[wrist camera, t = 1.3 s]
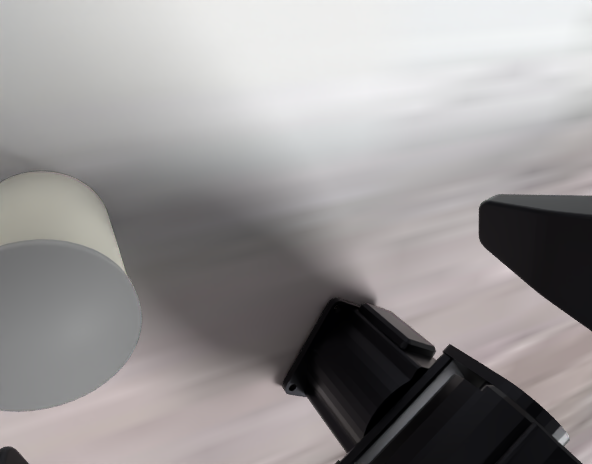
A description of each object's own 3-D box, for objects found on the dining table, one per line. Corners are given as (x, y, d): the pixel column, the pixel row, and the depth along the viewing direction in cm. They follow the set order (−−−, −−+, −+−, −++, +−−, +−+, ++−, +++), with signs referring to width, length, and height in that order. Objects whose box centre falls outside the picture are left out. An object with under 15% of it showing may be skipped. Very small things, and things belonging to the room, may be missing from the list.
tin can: (84, 294, 18) (98, 418, 12) (-50, 262, 16) (-115, 401, 10) (131, 197, 18) (171, 277, 12) (1, 146, 15) (-35, 216, 9)
